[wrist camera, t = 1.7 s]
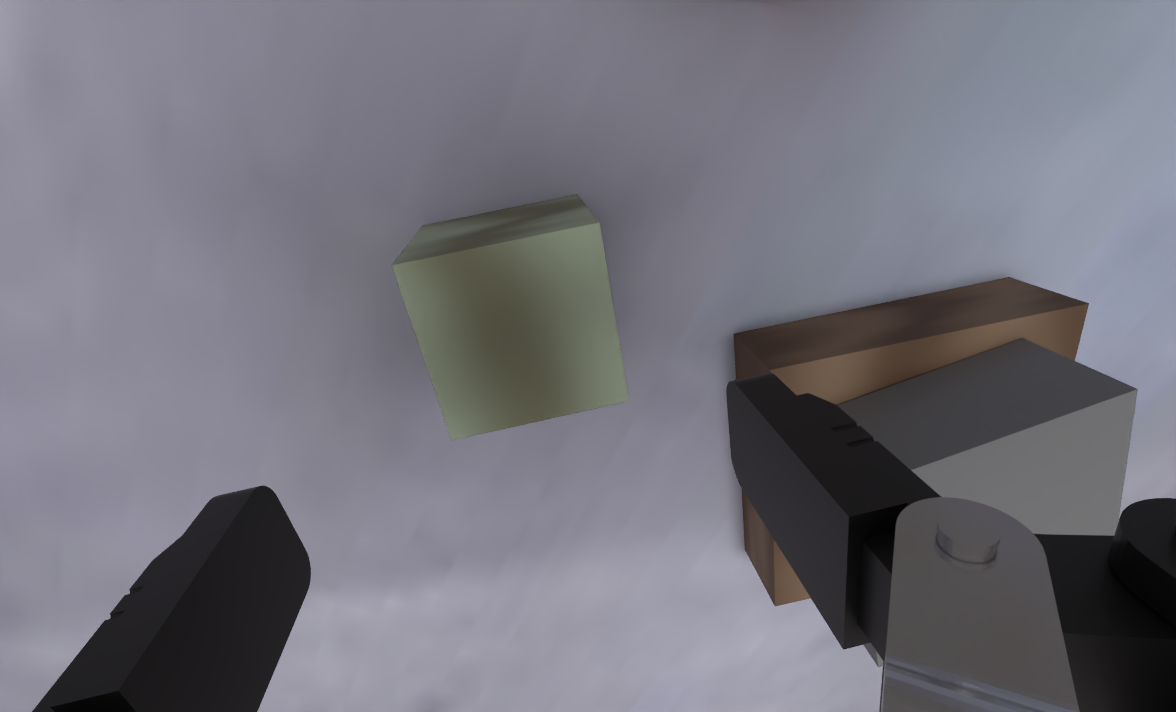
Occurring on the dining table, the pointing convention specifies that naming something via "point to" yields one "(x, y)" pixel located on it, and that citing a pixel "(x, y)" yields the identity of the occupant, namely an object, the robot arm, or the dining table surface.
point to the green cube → (514, 315)
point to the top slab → (1012, 436)
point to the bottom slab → (892, 362)
